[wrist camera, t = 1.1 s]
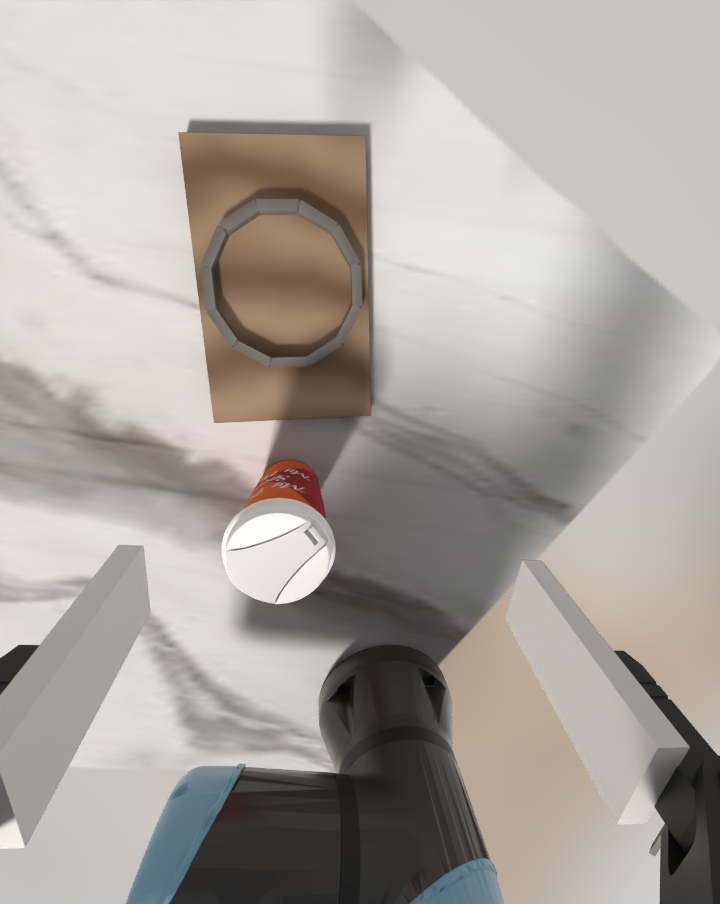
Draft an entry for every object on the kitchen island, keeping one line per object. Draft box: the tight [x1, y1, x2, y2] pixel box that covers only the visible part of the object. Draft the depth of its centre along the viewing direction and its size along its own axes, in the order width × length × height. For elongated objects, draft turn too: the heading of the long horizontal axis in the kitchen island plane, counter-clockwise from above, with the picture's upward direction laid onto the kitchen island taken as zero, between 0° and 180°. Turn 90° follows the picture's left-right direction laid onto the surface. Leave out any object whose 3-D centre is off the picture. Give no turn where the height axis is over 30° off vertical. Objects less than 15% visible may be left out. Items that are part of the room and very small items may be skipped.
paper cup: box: [222, 460, 336, 604], centre depth 34 cm, size 8×8×14 cm
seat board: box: [178, 132, 371, 423], centre depth 35 cm, size 22×14×3 cm, turn 2°
